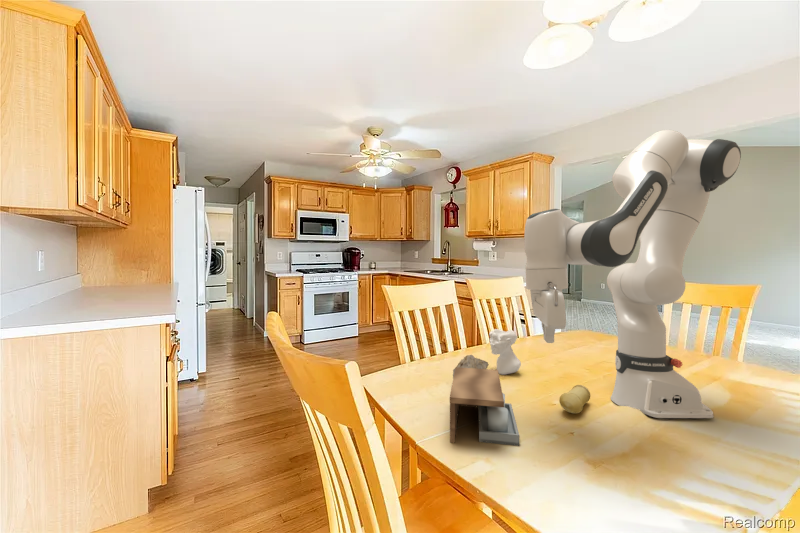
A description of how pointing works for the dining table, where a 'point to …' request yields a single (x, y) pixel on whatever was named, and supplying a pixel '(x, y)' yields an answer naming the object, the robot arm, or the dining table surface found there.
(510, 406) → the tray
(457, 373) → the counter
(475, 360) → the rock
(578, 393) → the potato
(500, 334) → the small white figurine
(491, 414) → the pillar candle
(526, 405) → the dining table surface
